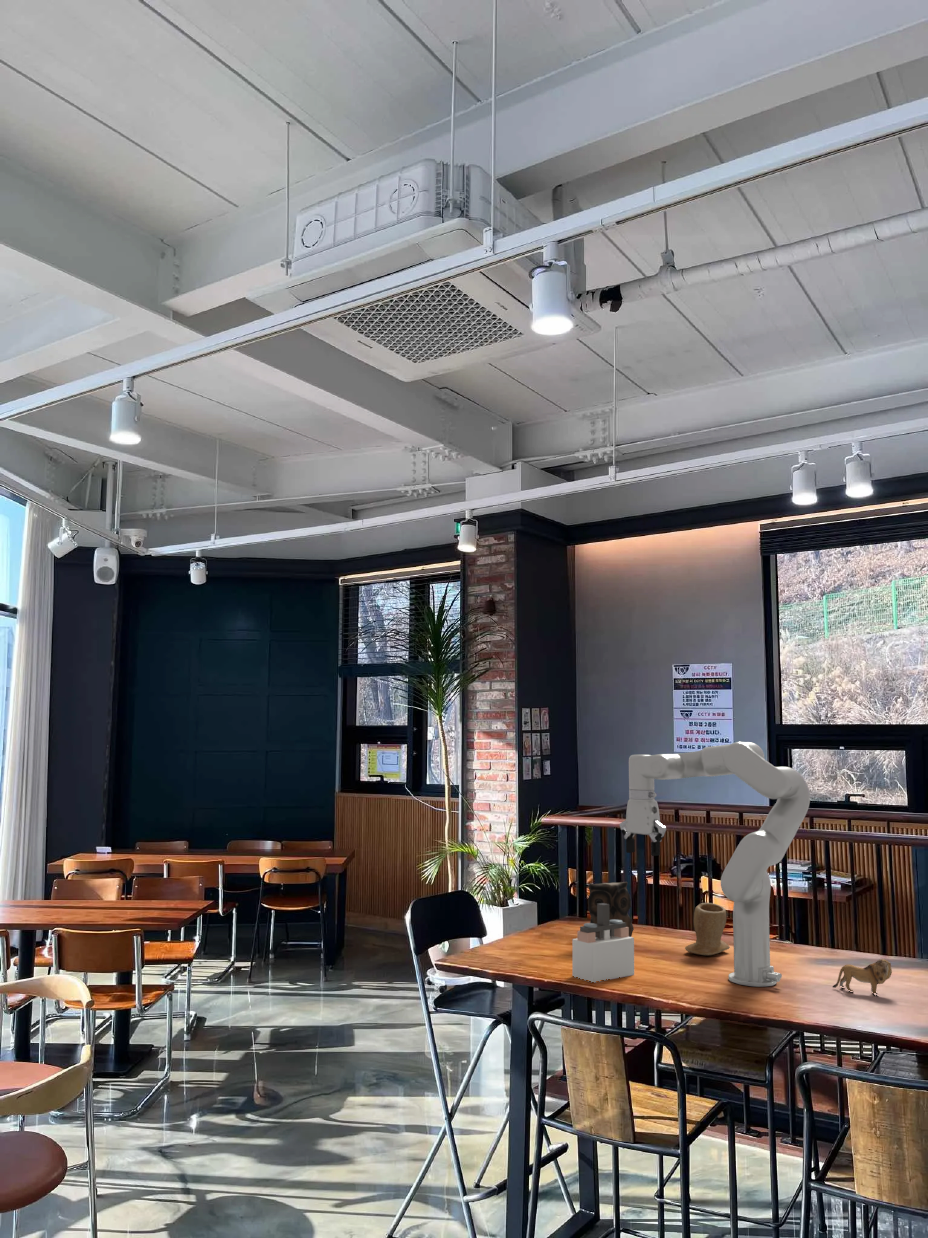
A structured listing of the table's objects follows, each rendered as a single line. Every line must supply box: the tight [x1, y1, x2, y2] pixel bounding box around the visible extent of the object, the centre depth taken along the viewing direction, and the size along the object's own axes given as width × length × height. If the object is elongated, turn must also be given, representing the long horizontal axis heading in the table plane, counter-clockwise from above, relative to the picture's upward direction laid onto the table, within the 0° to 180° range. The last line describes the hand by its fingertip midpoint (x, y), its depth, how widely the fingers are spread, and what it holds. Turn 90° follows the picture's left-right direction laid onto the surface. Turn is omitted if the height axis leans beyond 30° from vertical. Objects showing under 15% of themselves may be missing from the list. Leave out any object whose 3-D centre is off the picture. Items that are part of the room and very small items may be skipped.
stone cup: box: [684, 902, 730, 956], centre depth 291 cm, size 15×12×15 cm
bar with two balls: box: [579, 903, 626, 939], centre depth 262 cm, size 4×15×9 cm, turn 127°
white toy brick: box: [571, 927, 635, 983], centre depth 261 cm, size 8×16×12 cm, turn 126°
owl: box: [587, 881, 635, 937], centre depth 299 cm, size 13×13×20 cm
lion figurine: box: [832, 958, 893, 994], centre depth 247 cm, size 15×5×9 cm, turn 67°
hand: (642, 854), depth 280 cm, fingers open, 9 cm apart
